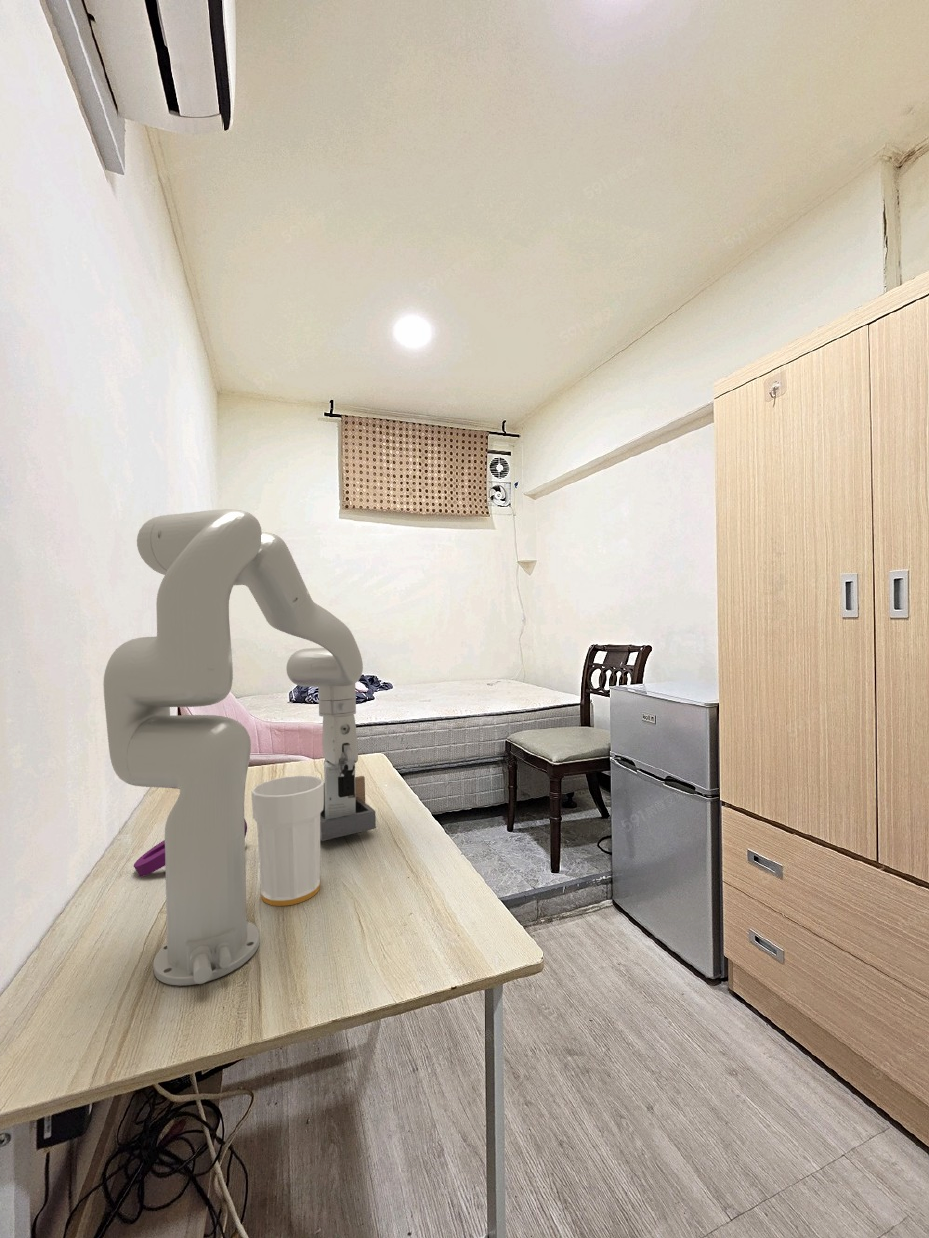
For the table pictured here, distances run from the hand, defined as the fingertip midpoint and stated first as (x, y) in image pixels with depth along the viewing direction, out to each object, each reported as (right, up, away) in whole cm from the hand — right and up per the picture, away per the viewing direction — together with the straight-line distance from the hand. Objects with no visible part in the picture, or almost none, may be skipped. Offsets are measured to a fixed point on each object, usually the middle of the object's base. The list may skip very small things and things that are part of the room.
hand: (339, 790), depth 107 cm
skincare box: (0, -7, 0) cm, 7 cm away
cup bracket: (0, -10, +2) cm, 10 cm away
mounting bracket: (-25, -11, -11) cm, 29 cm away
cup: (-2, -9, -22) cm, 24 cm away
